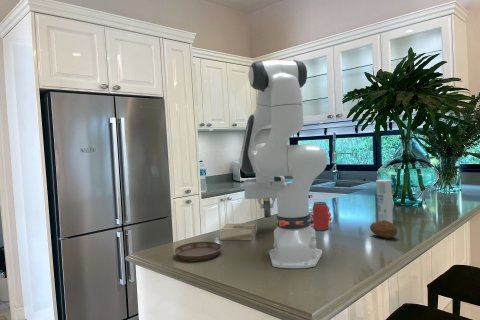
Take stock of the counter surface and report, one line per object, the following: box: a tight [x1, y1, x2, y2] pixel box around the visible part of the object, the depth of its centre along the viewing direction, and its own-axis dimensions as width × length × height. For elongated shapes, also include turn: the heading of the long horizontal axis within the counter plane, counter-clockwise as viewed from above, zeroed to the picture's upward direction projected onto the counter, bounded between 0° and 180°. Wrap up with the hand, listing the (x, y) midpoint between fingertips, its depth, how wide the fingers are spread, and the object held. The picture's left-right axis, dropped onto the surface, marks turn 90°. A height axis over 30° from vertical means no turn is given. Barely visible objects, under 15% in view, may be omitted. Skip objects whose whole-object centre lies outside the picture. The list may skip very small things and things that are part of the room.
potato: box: [369, 220, 398, 239], centre depth 142 cm, size 7×12×7 cm, turn 36°
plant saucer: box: [174, 241, 223, 262], centre depth 135 cm, size 18×18×3 cm
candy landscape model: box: [308, 205, 333, 227], centre depth 178 cm, size 25×24×9 cm
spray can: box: [375, 179, 394, 225], centre depth 163 cm, size 6×6×20 cm
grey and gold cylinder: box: [262, 198, 272, 219], centre depth 165 cm, size 3×3×9 cm
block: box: [218, 222, 258, 241], centre depth 159 cm, size 14×14×4 cm
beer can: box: [312, 201, 330, 231], centre depth 161 cm, size 7×7×12 cm
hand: (267, 208), depth 165 cm, fingers closed on grey and gold cylinder, 3 cm apart
